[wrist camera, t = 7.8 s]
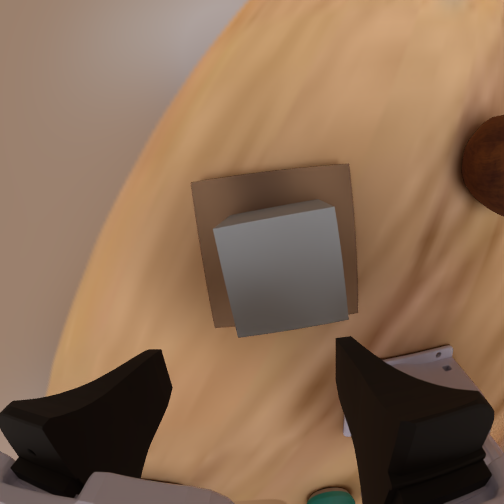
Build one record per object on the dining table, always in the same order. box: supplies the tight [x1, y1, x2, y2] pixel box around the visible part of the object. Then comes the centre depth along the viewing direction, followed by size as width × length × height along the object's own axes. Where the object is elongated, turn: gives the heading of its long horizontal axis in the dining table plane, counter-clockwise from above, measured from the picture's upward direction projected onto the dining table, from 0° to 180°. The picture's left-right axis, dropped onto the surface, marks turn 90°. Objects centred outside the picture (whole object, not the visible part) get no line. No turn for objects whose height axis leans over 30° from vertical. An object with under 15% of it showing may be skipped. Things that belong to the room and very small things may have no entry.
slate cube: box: [213, 199, 349, 338], centre depth 15 cm, size 5×5×5 cm
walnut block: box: [191, 164, 358, 328], centre depth 19 cm, size 9×9×3 cm
